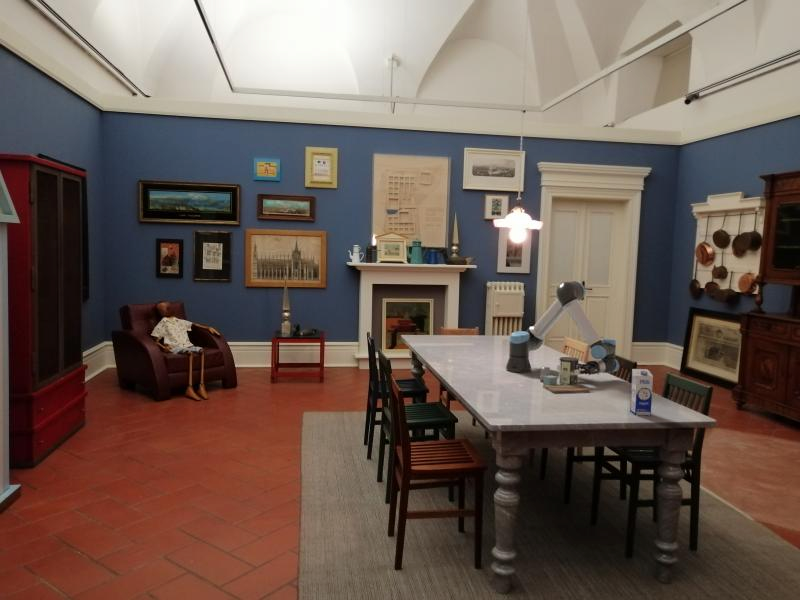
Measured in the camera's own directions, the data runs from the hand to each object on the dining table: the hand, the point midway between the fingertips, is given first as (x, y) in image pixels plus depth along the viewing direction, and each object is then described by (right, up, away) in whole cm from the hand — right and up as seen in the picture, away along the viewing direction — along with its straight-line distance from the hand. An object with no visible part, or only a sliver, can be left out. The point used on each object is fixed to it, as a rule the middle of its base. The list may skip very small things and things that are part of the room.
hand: (566, 369), depth 316 cm
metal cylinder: (-10, -7, +6) cm, 14 cm away
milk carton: (+17, -13, -56) cm, 60 cm away
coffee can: (+2, -8, +2) cm, 8 cm away
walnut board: (-4, -9, -13) cm, 16 cm away
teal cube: (-10, -8, -3) cm, 13 cm away
